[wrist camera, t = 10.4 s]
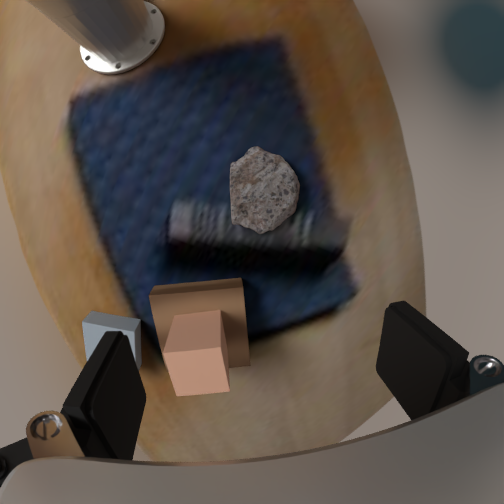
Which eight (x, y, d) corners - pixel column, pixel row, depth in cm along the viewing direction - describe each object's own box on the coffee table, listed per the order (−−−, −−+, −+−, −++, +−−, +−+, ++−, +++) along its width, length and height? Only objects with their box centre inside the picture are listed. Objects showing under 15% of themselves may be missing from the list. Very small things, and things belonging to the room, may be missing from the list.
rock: (231, 231, 39) (232, 238, 35) (227, 148, 36) (228, 144, 32) (298, 228, 40) (306, 234, 36) (296, 147, 37) (304, 143, 33)
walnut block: (155, 284, 40) (148, 295, 36) (241, 276, 41) (243, 287, 37) (170, 356, 43) (166, 371, 39) (248, 350, 44) (250, 365, 40)
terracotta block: (174, 315, 37) (162, 353, 28) (220, 309, 37) (220, 347, 29) (184, 354, 38) (176, 396, 30) (227, 349, 39) (229, 391, 30)
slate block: (92, 309, 40) (82, 321, 36) (141, 318, 41) (134, 331, 37) (96, 353, 42) (88, 367, 38) (142, 362, 43) (136, 377, 39)
